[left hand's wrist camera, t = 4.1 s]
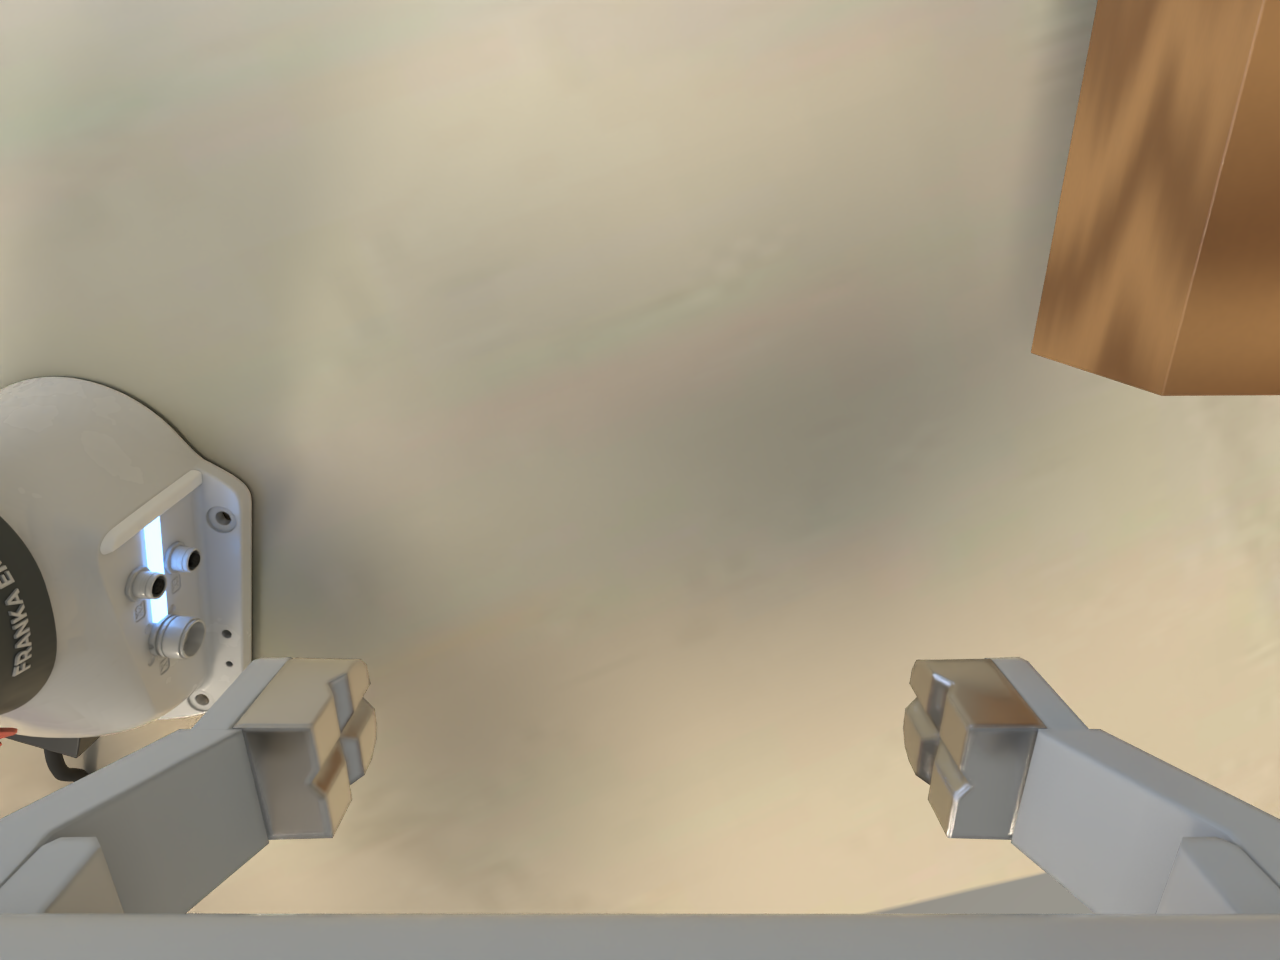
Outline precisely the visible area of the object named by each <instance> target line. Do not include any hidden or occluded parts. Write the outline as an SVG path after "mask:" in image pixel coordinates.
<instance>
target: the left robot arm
mask: <svg viewBox="0 0 1280 960" xmlns="http://www.w3.org/2000/svg"><path fill="white" fill-rule="evenodd" d="M223 512H226V513H227V514H228V515H229V516H230V518H231V520H228V519H226V518H225V517H224V516H223ZM370 684H371V683H370V678H369V673H368V668H367V664H366V663H365V662H363V661H362V660H361V659H338V658H291V657H274V658H259V659H256V660H253V661H252V499H251V494H250V491H249V489H248V488H247V486H246V485H245V484H244V483H243V482H242V481H240V480H239V479H238V478H236V477H235V476H234V475H232V474H230V473H229V472H227V471H225V470H223V469H222V468H220V467H218V466H216V465H214V464H212V463H210V462H208V461H206V460H205V459H203V458H202V457H201V456H199V455H198V454H197V453H196V452H195V451H194V450H193V449H192V448H191V447H190V446H189V445H188V444H187V443H186V442H185V441H184V440H183V439H182V438H181V437H180V436H179V435H178V434H177V432H176V431H175V430H174V429H173V428H172V427H171V426H169V425H168V424H167V423H166V422H165V421H164V420H163V419H162V418H160V417H159V416H158V415H157V414H155V413H154V412H153V411H151V410H150V409H149V408H147V407H146V406H144V405H143V404H141V403H140V402H138V401H136V400H134V399H133V398H131V397H129V396H127V395H125V394H123V393H121V392H119V391H117V390H114V389H112V388H109V387H107V386H104V385H101V384H98V383H94V382H91V381H86V380H82V379H76V378H69V377H39V378H32V379H27V380H23V381H20V382H16V383H14V384H11V385H9V386H7V387H5V388H3V389H1V390H0V739H1V738H8V739H11V740H15V741H18V742H22V743H25V744H29V745H32V746H36V747H39V748H43V749H44V753H45V758H46V762H47V765H48V768H49V770H50V771H51V773H52V774H53V775H54V777H55V778H56V779H58V780H61V781H73V783H71V784H69V785H67V786H65V787H63V788H61V789H59V790H57V791H55V792H53V793H51V794H49V795H47V796H45V797H43V798H41V799H39V800H37V801H35V802H33V803H31V804H29V805H27V806H25V807H23V808H21V809H19V810H17V811H15V812H13V813H11V814H9V815H7V816H5V817H3V818H2V819H0V960H1280V819H1278V818H1276V817H1274V816H1272V815H1270V814H1268V813H1266V812H1264V811H1262V810H1260V809H1258V808H1256V807H1254V806H1252V805H1250V804H1248V803H1246V802H1244V801H1242V800H1240V799H1238V798H1236V797H1234V796H1232V795H1230V794H1228V793H1226V792H1224V791H1222V790H1220V789H1218V788H1216V787H1214V786H1212V785H1210V784H1208V783H1206V782H1204V781H1202V780H1200V779H1198V778H1196V777H1194V776H1192V775H1190V774H1188V773H1186V772H1184V771H1182V770H1180V769H1178V768H1176V767H1174V766H1172V765H1170V764H1168V763H1166V762H1164V761H1162V760H1160V759H1159V758H1157V757H1155V756H1153V755H1151V754H1149V753H1147V752H1145V751H1143V750H1141V749H1139V748H1137V747H1135V746H1133V745H1131V744H1129V743H1127V742H1125V741H1123V740H1121V739H1119V738H1117V737H1115V736H1113V735H1111V734H1109V733H1107V732H1105V731H1103V730H1101V729H1088V728H1087V726H1086V725H1085V724H1084V723H1083V722H1082V721H1081V720H1080V719H1079V718H1078V716H1077V715H1076V714H1075V713H1074V712H1073V711H1072V710H1071V709H1070V708H1069V706H1068V705H1067V704H1066V703H1065V702H1064V701H1063V700H1062V699H1061V698H1060V696H1059V695H1058V694H1057V693H1056V692H1055V691H1054V690H1053V689H1052V688H1051V686H1050V685H1049V684H1048V683H1047V682H1046V681H1045V680H1044V679H1043V678H1042V676H1041V675H1040V674H1039V673H1038V672H1037V671H1036V670H1035V669H1034V668H1033V666H1032V665H1031V664H1030V663H1029V662H1028V661H1026V660H1024V659H1022V658H1020V657H1004V658H985V659H942V660H916V662H915V664H914V666H913V668H912V672H911V678H910V683H909V684H910V685H911V687H912V689H913V691H914V692H915V694H916V696H917V697H916V698H915V700H914V701H913V702H912V703H911V704H910V705H909V706H908V707H907V708H906V709H905V716H904V725H903V732H904V743H905V749H906V753H907V756H908V759H909V762H910V764H911V766H912V768H913V771H914V773H915V775H916V776H918V777H919V778H921V779H922V780H923V781H925V782H926V783H928V784H929V785H930V789H929V795H928V801H929V803H930V805H931V807H932V808H933V810H934V812H935V814H936V816H937V818H938V820H939V822H940V824H941V826H942V828H943V830H944V832H945V834H946V836H947V838H969V839H1004V840H1011V843H1012V844H1013V845H1014V846H1015V847H1017V848H1018V849H1019V850H1020V851H1021V852H1022V853H1024V854H1025V855H1026V856H1027V857H1028V858H1030V859H1031V860H1032V861H1033V862H1034V863H1036V864H1037V865H1038V866H1039V867H1040V868H1041V869H1043V870H1044V871H1045V872H1046V873H1047V874H1049V875H1050V876H1051V877H1052V878H1053V879H1055V880H1056V881H1057V882H1058V883H1059V884H1060V885H1062V886H1063V887H1064V888H1065V889H1066V890H1068V891H1069V892H1070V893H1071V894H1072V895H1074V896H1075V897H1076V898H1077V899H1078V900H1079V901H1081V902H1082V903H1083V904H1084V905H1085V906H1087V907H1088V908H1089V909H1090V910H1091V911H1092V912H1094V913H1095V914H185V913H187V912H188V911H189V910H190V909H191V908H192V907H194V906H195V905H196V904H197V903H198V902H200V901H201V900H202V899H203V898H204V897H206V896H207V895H208V894H209V893H210V892H211V891H213V890H214V889H215V888H216V887H217V886H219V885H220V884H221V883H222V882H223V881H225V880H226V879H227V878H228V877H229V876H231V875H232V874H233V873H234V872H235V871H236V870H238V869H239V868H240V867H241V866H242V865H244V864H245V863H246V862H247V861H248V860H250V859H251V858H252V857H253V856H254V855H255V854H257V853H258V852H259V851H260V850H261V849H263V848H264V847H265V846H266V845H267V844H269V840H276V839H310V838H333V836H334V834H335V832H336V830H337V828H338V826H339V824H340V822H341V820H342V818H343V816H344V814H345V812H346V810H347V808H348V807H349V805H350V803H351V801H352V795H351V789H350V785H351V784H352V783H354V782H355V781H357V780H358V779H359V778H361V777H362V776H364V775H365V773H366V770H367V768H368V766H369V764H370V762H371V760H372V756H373V752H374V747H375V743H376V730H377V722H376V715H375V709H374V708H373V707H372V706H371V705H370V704H369V703H368V702H367V701H366V700H365V698H364V697H363V696H364V694H365V692H366V691H367V689H368V687H369V685H370ZM204 695H205V696H207V697H208V698H207V697H205V696H204ZM201 714H204V715H203V716H202V718H201V719H200V720H199V721H198V722H197V723H196V724H195V725H194V726H193V728H192V729H179V730H177V731H175V732H173V733H171V734H169V735H167V736H165V737H163V738H161V739H159V740H157V741H155V742H153V743H151V744H149V745H147V746H145V747H143V748H141V749H139V750H137V751H135V752H133V753H131V754H129V755H127V756H125V757H123V758H121V759H119V760H117V761H115V762H113V763H111V764H109V765H107V766H105V767H103V768H101V769H99V770H97V771H95V772H93V773H91V774H89V775H88V773H87V772H86V771H85V770H82V769H77V768H69V767H67V765H66V764H65V762H64V759H63V755H62V754H64V755H67V756H71V757H74V758H77V757H79V756H80V755H81V754H82V753H83V752H84V751H85V750H86V749H87V748H88V747H89V746H90V745H91V744H92V743H93V742H94V741H96V740H97V739H98V738H99V737H100V736H104V735H111V734H117V733H121V732H125V731H129V730H133V729H136V728H139V727H142V726H144V725H146V724H149V723H151V722H153V721H155V720H165V719H176V718H184V717H191V716H196V715H201ZM1 745H2V743H1V742H0V746H1Z"/></svg>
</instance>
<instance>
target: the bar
mask: <svg viewBox="0 0 1280 960" xmlns="http://www.w3.org/2000/svg"><path fill="white" fill-rule="evenodd" d="M1031 353H1033V354H1036V355H1039V356H1042V357H1045V358H1048V359H1051V360H1054V361H1057V362H1060V363H1063V364H1066V365H1069V366H1072V367H1075V368H1078V369H1082V370H1085V371H1088V372H1091V373H1094V374H1097V375H1100V376H1103V377H1106V378H1109V379H1112V380H1115V381H1118V382H1121V383H1124V384H1127V385H1131V386H1134V387H1137V388H1140V389H1143V390H1146V391H1149V392H1152V393H1155V394H1158V395H1161V396H1206V395H1280V0H1098V2H1097V7H1096V12H1095V17H1094V23H1093V28H1092V33H1091V39H1090V44H1089V49H1088V54H1087V60H1086V65H1085V70H1084V75H1083V81H1082V86H1081V91H1080V96H1079V102H1078V107H1077V112H1076V118H1075V123H1074V128H1073V133H1072V139H1071V144H1070V149H1069V154H1068V160H1067V165H1066V170H1065V175H1064V181H1063V186H1062V191H1061V197H1060V202H1059V207H1058V212H1057V218H1056V223H1055V228H1054V233H1053V239H1052V244H1051V249H1050V254H1049V260H1048V265H1047V270H1046V276H1045V281H1044V286H1043V291H1042V297H1041V302H1040V307H1039V312H1038V318H1037V323H1036V328H1035V333H1034V339H1033V344H1032V349H1031Z"/></svg>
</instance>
